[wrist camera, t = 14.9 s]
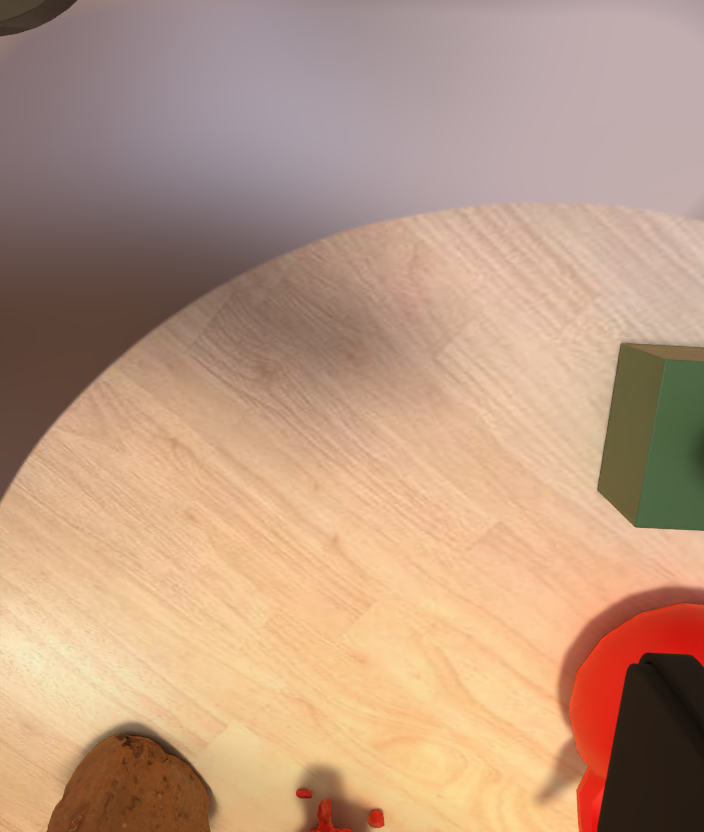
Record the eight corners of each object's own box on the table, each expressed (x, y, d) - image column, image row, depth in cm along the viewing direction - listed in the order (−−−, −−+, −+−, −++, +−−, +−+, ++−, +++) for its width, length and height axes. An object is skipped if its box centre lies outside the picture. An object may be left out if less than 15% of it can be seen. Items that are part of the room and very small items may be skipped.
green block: (620, 342, 42) (665, 359, 36) (760, 350, 42) (826, 368, 36) (597, 490, 45) (635, 528, 39) (728, 497, 45) (785, 535, 39)
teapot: (712, 501, 45) (843, 594, 33) (856, 632, 48) (1024, 761, 36) (460, 738, 50) (495, 893, 38) (603, 845, 52) (679, 1022, 40)
